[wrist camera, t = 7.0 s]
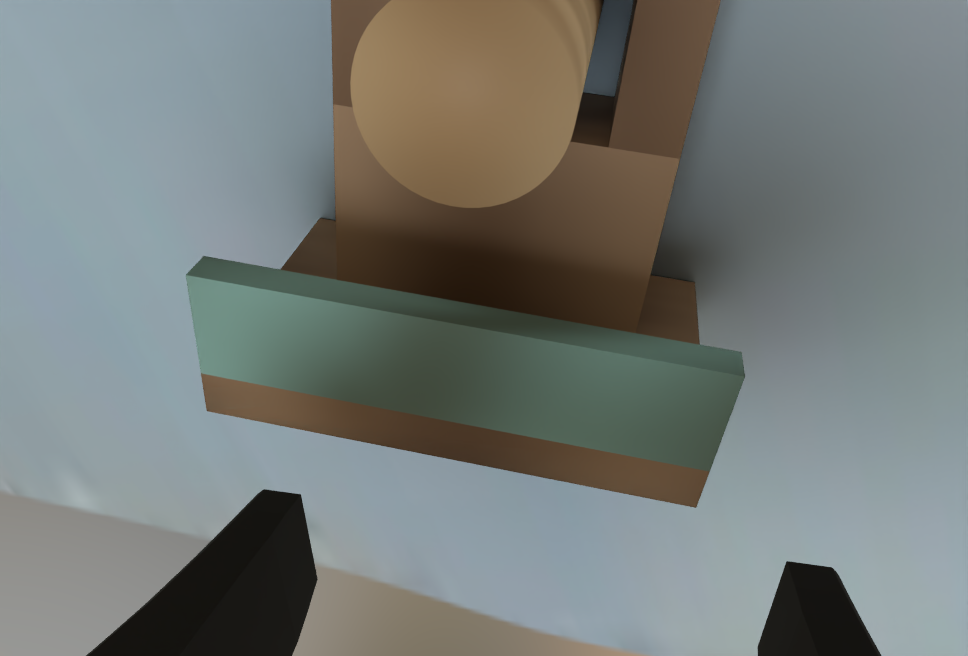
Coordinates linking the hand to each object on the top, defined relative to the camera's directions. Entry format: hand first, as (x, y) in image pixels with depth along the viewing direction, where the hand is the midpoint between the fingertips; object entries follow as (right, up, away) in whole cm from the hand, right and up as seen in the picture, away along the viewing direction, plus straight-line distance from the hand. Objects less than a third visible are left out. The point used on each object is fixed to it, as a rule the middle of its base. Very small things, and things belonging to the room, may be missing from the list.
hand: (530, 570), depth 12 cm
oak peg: (0, +11, +5) cm, 12 cm away
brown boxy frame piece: (0, +9, +6) cm, 11 cm away
